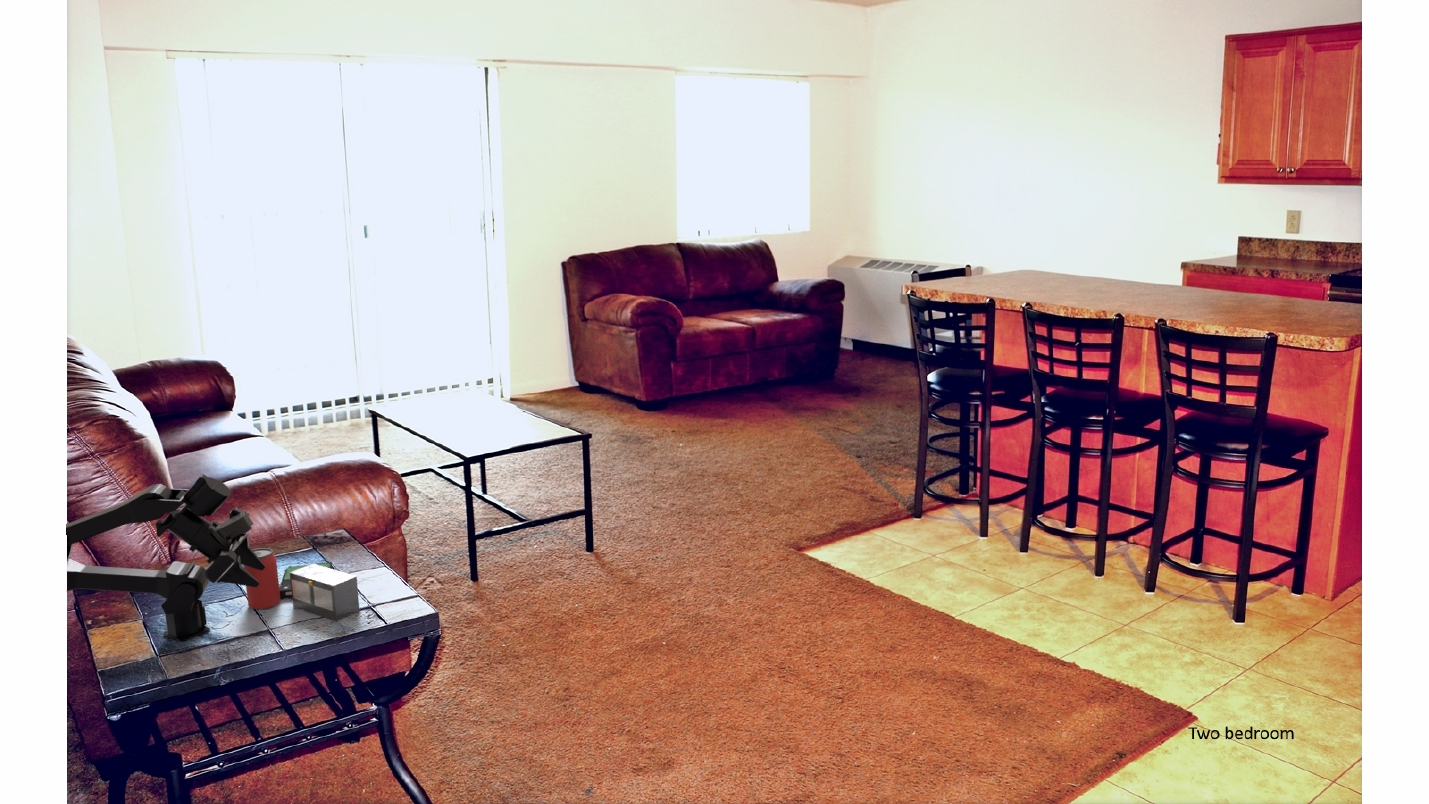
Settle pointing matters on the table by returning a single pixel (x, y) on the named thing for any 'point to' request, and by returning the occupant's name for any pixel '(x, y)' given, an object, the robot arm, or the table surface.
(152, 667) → the table surface
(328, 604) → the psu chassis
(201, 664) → the table surface
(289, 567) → the disk drive
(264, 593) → the beer can
